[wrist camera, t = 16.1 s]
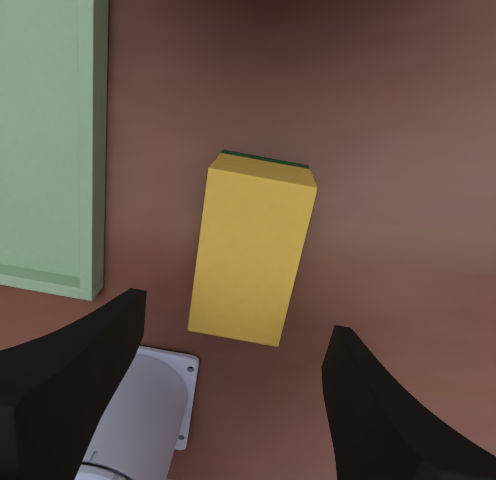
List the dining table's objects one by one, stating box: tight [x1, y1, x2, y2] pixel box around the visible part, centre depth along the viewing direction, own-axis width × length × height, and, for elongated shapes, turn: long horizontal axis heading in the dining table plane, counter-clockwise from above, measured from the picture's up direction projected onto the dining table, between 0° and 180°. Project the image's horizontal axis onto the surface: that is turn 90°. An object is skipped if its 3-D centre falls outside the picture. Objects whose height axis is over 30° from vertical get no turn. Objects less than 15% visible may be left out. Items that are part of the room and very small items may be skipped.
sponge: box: [188, 150, 318, 347], centre depth 21 cm, size 9×5×5 cm, turn 170°
